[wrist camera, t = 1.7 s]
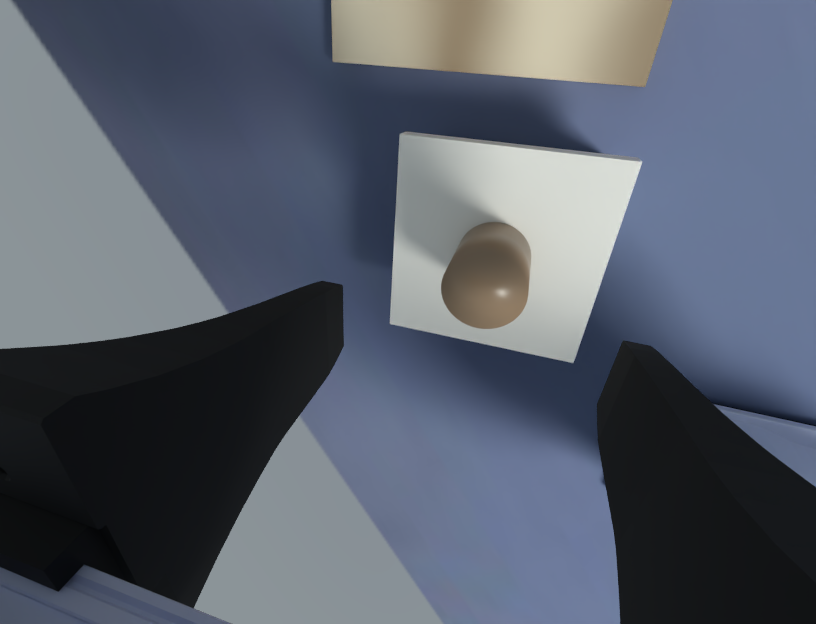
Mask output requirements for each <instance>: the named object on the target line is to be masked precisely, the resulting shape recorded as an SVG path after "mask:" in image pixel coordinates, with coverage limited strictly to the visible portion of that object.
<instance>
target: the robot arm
mask: <svg viewBox="0 0 816 624" xmlns="http://www.w3.org/2000/svg"><path fill="white" fill-rule="evenodd" d="M343 346H344V336H343V285H340V284H335V283H330V282H325V281H320V282H316V283H313V284H310V285H307V286H304V287H301V288H298V289H296V290H293V291H290V292H288V293H285V294H282V295H280V296H277V297H275V298H272V299H269V300H267V301H264V302H261V303H259V304H256V305H253V306H250V307H247V308H244V309H241V310H238V311H235V312H232V313H229V314H226V315H223V316H220V317H217V318H213V319H210V320H206V321H203V322H199V323H195V324H191V325H187V326H183V327H179V328H174V329H170V330H164V331H159V332H154V333H148V334H142V335H137V336H132V337H126V338H119V339H113V340H105V341H97V342H88V343H79V344H69V345H58V346H43V347H27V348H11V349H0V624H231V623H228V622H226V621H224V620H221V619H218V618H216V617H213V616H211V615H209V614H206V613H204V612H201V611H199V610H196V609H194V606H195V604H196V602H197V599H198V597H199V595H200V593H201V591H202V589H203V587H204V584H205V582H206V580H207V578H208V576H209V574H210V572H211V570H212V568H213V565H214V563H215V561H216V559H217V557H218V555H219V553H220V551H221V549H222V547H223V545H224V543H225V541H226V539H227V537H228V535H229V533H230V531H231V529H232V527H233V525H234V523H235V521H236V519H237V517H238V516H239V514H240V512H241V510H242V508H243V506H244V504H245V503H246V501H247V499H248V497H249V495H250V493H251V491H252V490H253V488H254V486H255V484H256V482H257V480H258V479H259V477H260V475H261V474H262V472H263V470H264V468H265V467H266V465H267V463H268V461H269V460H270V457H271V456H272V455H273V453H274V451H275V449H276V448H277V446H278V445H279V443H280V442H281V440H282V438H283V437H284V436H285V434H286V433H287V431H288V430H289V429H290V427H291V426H292V425H293V423H294V422H295V420H296V419H297V418H298V416H299V415H300V414H301V412H302V411H303V410H304V408H305V407H306V406H307V404H308V403H309V401H310V400H311V399H312V397H313V396H314V395H315V393H316V392H317V390H318V389H319V388H320V386H321V385H322V383H323V382H324V381H325V379H326V378H327V376H328V375H329V373H330V371H331V370H332V368H333V366H334V364H335V362H336V360H337V358H338V356H339V354H340V352H341V350H342V348H343ZM597 429H598V444H599V450H600V456H601V462H602V468H603V473H604V479H605V485H606V490H607V496H608V501H609V507H610V512H611V518H612V524H613V530H614V537H615V545H616V555H617V570H618V585H619V602H620V624H816V426H811V425H807V424H802V423H798V422H793V421H789V420H784V419H779V418H775V417H770V416H766V415H761V414H757V413H752V412H747V411H743V410H738V409H734V408H729V407H725V406H720V405H716V404H712V403H711V402H710V401H709V400H708V399H707V398H706V397H705V396H704V395H703V394H702V393H701V392H700V391H699V390H698V389H696V388H695V387H694V386H693V385H692V384H691V383H690V382H689V381H688V380H687V379H686V378H685V377H684V376H683V375H682V374H681V373H680V372H679V371H678V370H677V369H676V368H675V367H674V366H673V365H672V364H671V363H670V362H668V361H667V360H666V359H665V358H664V357H663V356H662V355H661V354H660V353H659V352H658V351H656V350H655V349H654V348H653V347H651V346H648V345H643V344H638V343H633V342H628V341H623V342H622V344H621V347H620V349H619V352H618V354H617V357H616V359H615V362H614V364H613V366H612V369H611V371H610V374H609V376H608V379H607V381H606V384H605V386H604V389H603V391H602V394H601V396H600V398H599V401H598V403H597Z"/></svg>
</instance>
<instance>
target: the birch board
mask: <svg viewBox="0 0 816 624" xmlns="http://www.w3.org/2000/svg"><path fill="white" fill-rule="evenodd" d="M672 1H673V0H331V12H332V55H333V62H340V63H353V64H365V65H378V66H390V67H403V68H415V69H428V70H440V71H452V72H465V73H477V74H490V75H502V76H515V77H527V78H540V79H552V80H565V81H577V82H590V83H602V84H615V85H627V86H640V87H645V86H646V82H647V79H648V76H649V73H650V70H651V67H652V64H653V60H654V57H655V54H656V51H657V48H658V45H659V42H660V38H661V35H662V32H663V29H664V26H665V23H666V19H667V16H668V13H669V10H670V7H671V4H672Z"/></svg>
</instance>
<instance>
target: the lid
mask: <svg viewBox="0 0 816 624" xmlns="http://www.w3.org/2000/svg"><path fill="white" fill-rule="evenodd" d="M641 164H642V161H641V160H640V159H639V158H637V157H628V156H619V155H610V154H601V153H592V152H584V151H575V150H566V149H557V148H548V147H539V146H531V145H522V144H513V143H504V142H495V141H486V140H477V139H469V138H460V137H451V136H442V135H433V134H424V133H416V132H407V131H406V132H403V133H401V134H400V136H399V155H398V174H397V194H396V213H395V233H394V252H393V271H392V291H391V310H390V324H393V325H397V326H402V327H407V328H411V329H416V330H421V331H425V332H430V333H435V334H439V335H444V336H449V337H453V338H458V339H463V340H467V341H472V342H477V343H481V344H486V345H491V346H495V347H500V348H505V349H509V350H514V351H519V352H523V353H528V354H533V355H537V356H542V357H547V358H551V359H556V360H561V361H565V362H570V363H574V360H575V357H576V354H577V351H578V348H579V346H580V343H581V340H582V337H583V334H584V331H585V328H586V325H587V322H588V319H589V316H590V313H591V311H592V308H593V305H594V302H595V299H596V296H597V293H598V290H599V287H600V284H601V281H602V278H603V275H604V273H605V270H606V267H607V264H608V261H609V258H610V255H611V252H612V249H613V246H614V243H615V240H616V237H617V235H618V232H619V229H620V226H621V223H622V220H623V217H624V214H625V211H626V208H627V205H628V202H629V200H630V197H631V194H632V191H633V188H634V185H635V182H636V179H637V176H638V173H639V170H640V167H641Z"/></svg>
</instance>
